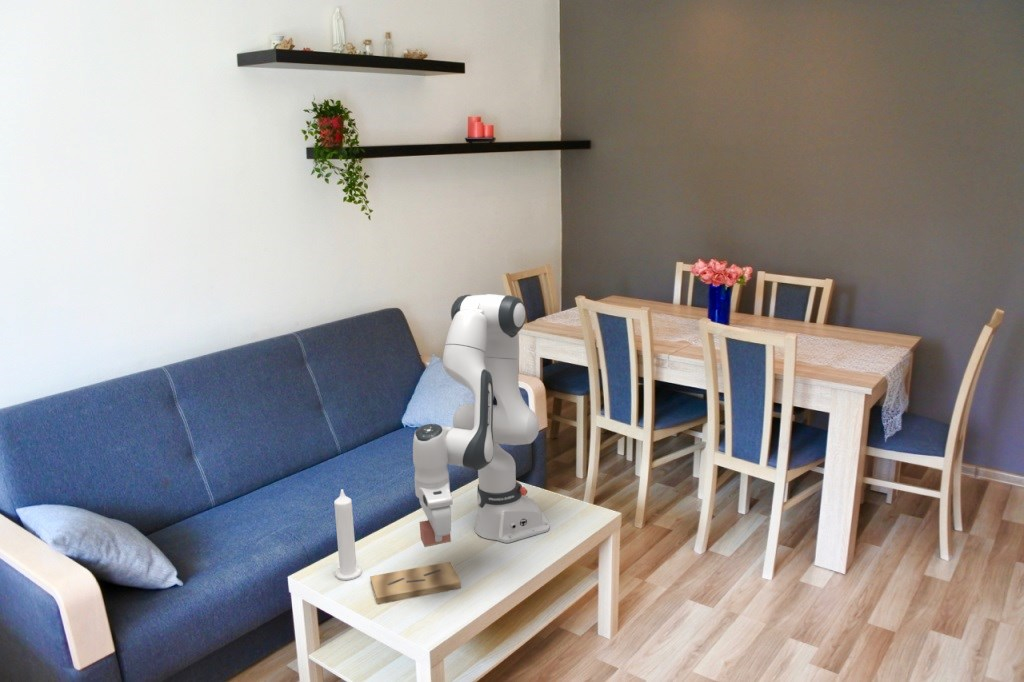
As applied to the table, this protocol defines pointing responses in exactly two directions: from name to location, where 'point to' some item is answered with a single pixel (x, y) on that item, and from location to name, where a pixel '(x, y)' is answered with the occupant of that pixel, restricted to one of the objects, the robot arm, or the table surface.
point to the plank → (414, 582)
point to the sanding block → (430, 535)
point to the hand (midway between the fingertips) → (435, 534)
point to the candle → (345, 539)
